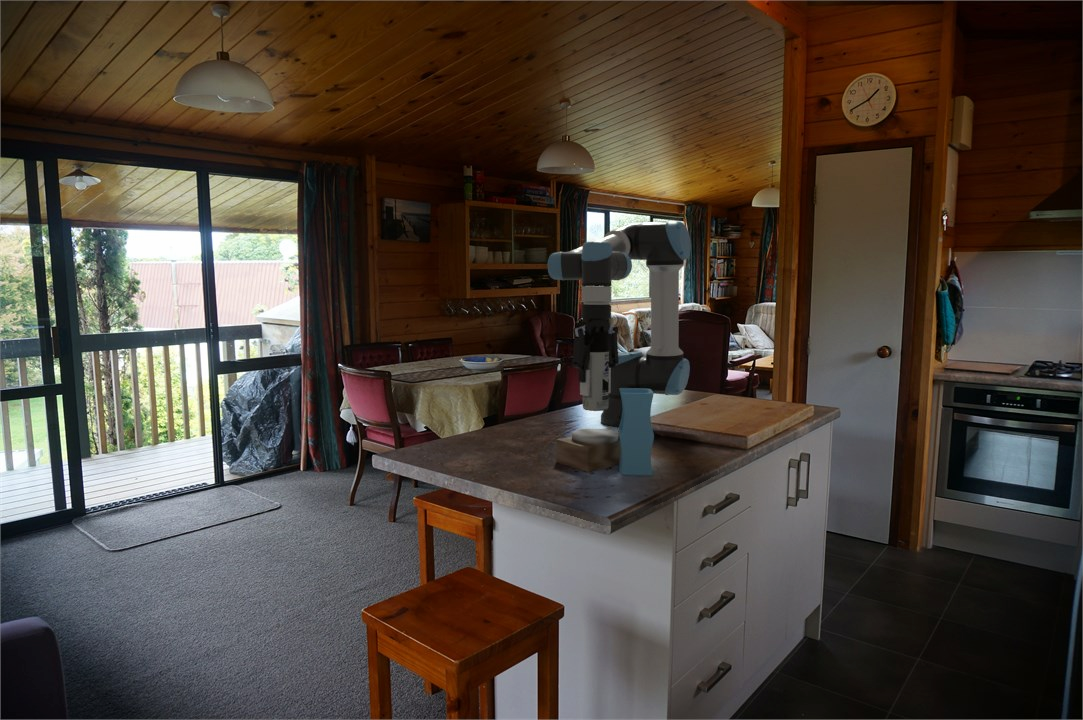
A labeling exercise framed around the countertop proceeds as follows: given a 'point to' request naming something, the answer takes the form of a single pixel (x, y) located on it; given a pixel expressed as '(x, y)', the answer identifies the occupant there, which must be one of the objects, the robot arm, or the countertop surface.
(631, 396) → the vase
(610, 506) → the countertop surface
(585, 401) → the spray can
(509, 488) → the countertop surface
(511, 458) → the countertop surface
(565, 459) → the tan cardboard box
